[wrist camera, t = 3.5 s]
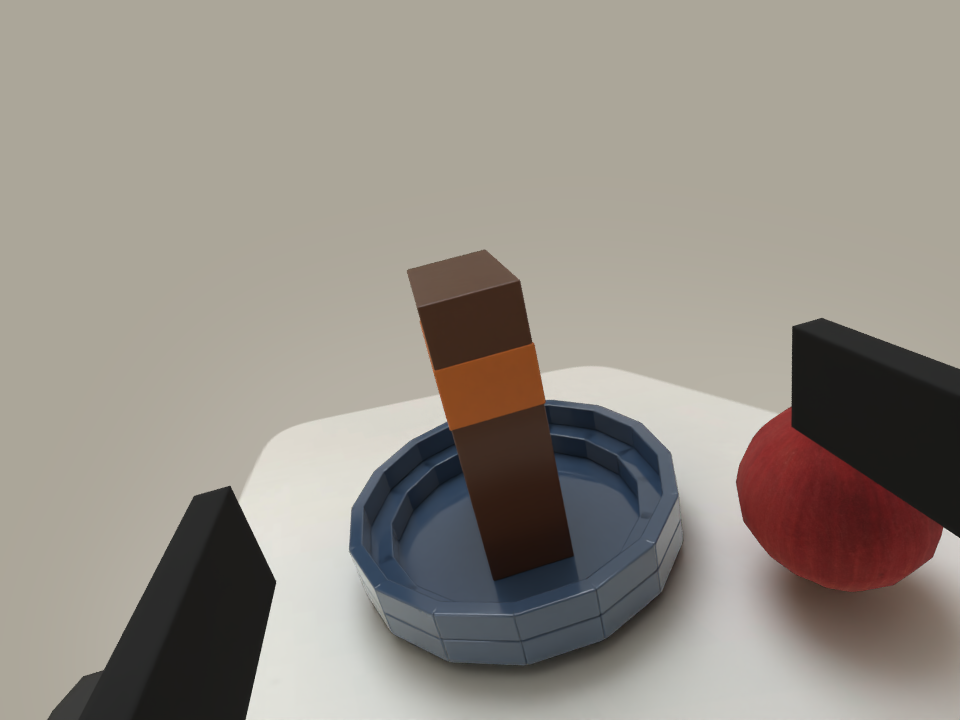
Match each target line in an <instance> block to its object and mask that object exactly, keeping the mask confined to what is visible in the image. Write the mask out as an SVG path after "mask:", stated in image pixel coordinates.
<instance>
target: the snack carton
mask: <svg viewBox="0 0 960 720" xmlns="http://www.w3.org/2000/svg"><path fill="white" fill-rule="evenodd" d="M407 274H408V277H409V281H410V284H411V288H412V292H413V295H414V298H415V302H416V306H417V310H418V313H419V317H420V324H421V328H422V332H423V335H424V339H425V343H426V347H427V350H428V354H429V358H430V361H431V364H432V369H433V372H434V376H435V379H436V383H437V386H438V390H439V394H440V397H441V401H442V404H443V408H444V412H445V415H446V419H447V422H448V426H449V429H450V431H452V435H453V439H454V442H455V446H456V449H457V453H458V456H459V460H460V464H461V467H462V471H463V474H464V478H465V481H466V485H467V489H468V492H469V496H470V499H471V503H472V507H473V510H474V514H475V517H476V521H477V524H478V528H479V532H480V535H481V539H482V542H483V546H484V550H485V553H486V557H487V560H488V564H489V567H490V571H491V575H492V578H493V580H494V581H496V580H499V579H502V578H505V577H509V576H512V575H515V574H518V573H521V572H524V571H528V570H531V569H534V568H537V567H540V566H543V565H547V564H550V563H553V562H556V561H559V560H562V559H566V558H569V557H572V556H574V552H573V547H572V542H571V537H570V532H569V527H568V522H567V517H566V511H565V506H564V501H563V496H562V491H561V486H560V481H559V476H558V471H557V466H556V461H555V455H554V450H553V445H552V440H551V435H550V430H549V425H548V420H547V415H546V410H545V405H544V404H545V403H546V401H545V396H544V391H543V386H542V380H541V375H540V370H539V365H538V360H537V355H536V350H535V345H534V343H533V342H532V338H531V334H530V328H529V323H528V318H527V313H526V308H525V303H524V298H523V293H522V288H521V283H520V280H519V279H518V278H517V277H516V276H514V275H513V274H512V273H511V272H510V271H509V270H508V269H507V268H505V267H504V266H503V265H502V264H501V263H500V262H499V261H497V259H495V258H494V257H493V256H492V255H491V254H490V253H489V252H487V251H486V250H481V251H477V252H473V253H470V254H466V255H462V256H458V257H454V258H450V259H447V260H443V261H439V262H435V263H431V264H427V265H424V266H420V267H416V268H412V269H408V270H407Z"/></svg>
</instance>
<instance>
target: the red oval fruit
mask: <svg viewBox="0 0 960 720" xmlns="http://www.w3.org/2000/svg"><path fill="white" fill-rule="evenodd" d="M791 416H792V407H790V408H788V409H786V410H785V411H784V412H782V413H780V414H779V415H777V416H776V417H775V418H773V419H772V420H770V421H769V422H768V423H766V424H765V425H764V426H763V427H762V428H761V429H760V430H759V431H758V432H757V433H756V435H755V436H754V437H753V438H752V440H751V442H750V444H749V446H748V448H747V450H746V452H745V454H744V456H743V458H742V461H741V463H740V465H739V469H738V474H737V479H736V485H737V491H738V497H739V502H740V507H741V512H742V517H743V521H744V523H745V524H746V526H747V527H748V528H749V530H750V531H751V532H752V534H753V535H754V536H755V538H756V539H757V540H758V542H759V543H760V545H761V546H762V547H763V548H764V549H765V551H766V552H767V553H768V554H769V555H770V557H772V558H773V559H775V560H776V561H777V562H779V563H780V564H782V565H783V566H784V567H786V568H787V569H788V570H790V571H791V572H793V573H794V574H795V575H797V576H800V577H803V578H805V579H808V580H811V581H813V582H815V583H817V584H819V585H821V586H823V587H825V588H830V589H836V590H842V591H848V592H856V591H865V590H870V589H876V588H881V587H886V586H892V585H894V584H896V583H897V582H899V581H900V580H902V579H903V578H905V577H906V576H908V575H909V574H911V573H912V572H914V571H915V570H916V569H918V568H919V567H920V566H922V565H923V564H924V563H926V562H927V561H928V560H930V559H931V558H932V557H933V555H934V553H935V550H936V548H937V545H938V543H939V540H940V538H941V535H942V531H943V526H941V525H940V524H938V523H937V522H935V521H933V520H932V519H930V518H929V517H927V516H926V515H924V514H923V513H921V512H920V511H918V510H917V509H915V508H914V507H912V506H911V505H909V504H908V503H906V502H905V501H903V500H902V499H900V498H899V497H897V496H896V495H894V494H893V493H891V492H889V491H888V490H886V489H885V488H883V487H882V486H880V485H879V484H877V483H876V482H874V481H873V480H871V479H870V478H868V477H867V476H865V475H864V474H862V473H861V472H859V471H858V470H856V469H855V468H853V467H852V466H850V465H849V464H847V463H846V462H844V461H842V460H841V459H839V458H838V457H836V456H835V455H833V454H832V453H830V452H829V451H827V450H826V449H824V448H823V447H821V446H820V445H818V444H817V443H815V442H814V441H812V440H811V439H809V438H808V437H806V436H805V435H803V434H802V433H800V432H799V431H797V430H795V429H794V428H792V427H791Z"/></svg>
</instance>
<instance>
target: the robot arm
mask: <svg viewBox="0 0 960 720" xmlns="http://www.w3.org/2000/svg"><path fill="white" fill-rule="evenodd" d="M791 427H792V428H794V429H795V430H797V431H799V432H800V433H802V434H803V435H805V436H806V437H808V438H809V439H811V440H812V441H814V442H815V443H817V444H818V445H820V446H821V447H823V448H824V449H826V450H827V451H829V452H830V453H832V454H833V455H835V456H836V457H838V458H839V459H841V460H842V461H844V462H846V463H847V464H849V465H850V466H852V467H853V468H855V469H856V470H858V471H859V472H861V473H862V474H864V475H865V476H867V477H868V478H870V479H871V480H873V481H874V482H876V483H877V484H879V485H880V486H882V487H883V488H885V489H886V490H888V491H889V492H891V493H893V494H894V495H896V496H897V497H899V498H900V499H902V500H903V501H905V502H906V503H908V504H909V505H911V506H912V507H914V508H915V509H917V510H918V511H920V512H921V513H923V514H924V515H926V516H927V517H929V518H930V519H932V520H933V521H935V522H937V523H938V524H940V525H941V526H943V527H944V528H946V529H947V530H949V531H950V532H952V533H953V534H955V535H956V536H958V537H959V538H960V369H958V368H955V367H952V366H950V365H947V364H944V363H941V362H939V361H936V360H934V359H931V358H928V357H926V356H923V355H920V354H918V353H915V352H912V351H909V350H907V349H904V348H901V347H899V346H896V345H893V344H890V343H888V342H885V341H883V340H880V339H877V338H875V337H872V336H869V335H867V334H864V333H861V332H858V331H856V330H853V329H850V328H848V327H845V326H842V325H839V324H837V323H834V322H832V321H828V320H826V319H824V318H820V319H817V320H813V321H810V322H806V323H803V324H799V325H796V326H793V327H792V416H791ZM275 585H276V580H275V578H274V576H273V574H272V572H271V570H270V568H269V566H268V564H267V561H266V559H265V557H264V555H263V553H262V551H261V549H260V547H259V545H258V543H257V541H256V538H255V536H254V534H253V532H252V530H251V528H250V526H249V524H248V522H247V520H246V518H245V515H244V513H243V511H242V509H241V507H240V505H239V503H238V501H237V499H236V497H235V495H234V493H233V490H232V488H231V486H228V487H224V488H221V489H217V490H214V491H210V492H207V493H203V494H199V495H196V496H194V497H193V499H192V501H191V503H190V505H189V507H188V509H187V510H186V513H185V514H184V517H183V518H182V520H181V522H180V524H179V526H178V528H177V530H176V532H175V534H174V536H173V538H172V540H171V541H170V543H169V546H168V547H167V549H166V551H165V553H164V555H163V557H162V559H161V561H160V563H159V565H158V567H157V569H156V570H155V572H154V574H153V576H152V578H151V580H150V582H149V584H148V586H147V588H146V590H145V592H144V594H143V596H142V598H141V600H140V601H139V603H138V605H137V607H136V609H135V611H134V613H133V615H132V617H131V619H130V621H129V623H128V625H127V627H126V628H125V630H124V632H123V634H122V636H121V638H120V640H119V642H118V644H117V646H116V648H115V650H114V652H113V654H112V655H111V658H110V660H109V662H108V663H107V665H106V667H105V669H104V670H103V671H100V672H96V673H93V674H90V675H87V676H83V677H82V678H81V680H80V681H79V682H78V683H77V684H76V685H75V686H74V687H73V689H72V690H71V691H70V692H69V693H68V694H67V695H66V696H65V698H64V699H63V700H62V701H61V702H60V703H59V704H58V705H57V707H56V708H55V709H54V710H53V711H52V713H51V715H50V716H49V718H48V720H246V715H247V711H248V706H249V702H250V697H251V693H252V688H253V684H254V679H255V675H256V670H257V666H258V661H259V657H260V653H261V648H262V644H263V639H264V635H265V630H266V626H267V621H268V617H269V612H270V608H271V603H272V599H273V594H274V590H275Z"/></svg>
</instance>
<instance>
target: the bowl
mask: <svg viewBox="0 0 960 720" xmlns="http://www.w3.org/2000/svg"><path fill="white" fill-rule="evenodd" d="M545 401H546V403H545V404H544V405H545V410H546V415H547V420H548V425H549V430H550V435H551V440H552V445H553V450H554V455H555V461H556V466H557V471H558V476H559V481H560V486H561V491H562V496H563V501H564V506H565V511H566V517H567V522H568V527H569V532H570V537H571V542H572V547H573V552H574V556H572V557H569V558H566V559H562V560H559V561H556V562H553V563H550V564H547V565H543V566H540V567H537V568H534V569H531V570H528V571H524V572H521V573H518V574H515V575H512V576H509V577H505V578H502V579H499V580H496V581H494V580H493V578H492V575H491V571H490V567H489V564H488V560H487V557H486V553H485V550H484V546H483V542H482V539H481V535H480V532H479V528H478V524H477V521H476V517H475V514H474V510H473V507H472V503H471V499H470V496H469V492H468V489H467V485H466V481H465V478H464V474H463V471H462V467H461V464H460V460H459V456H458V453H457V449H456V446H455V442H454V439H453V435H452V431H450V429H449V426H448V422H446V423H444V424H442V425H440V426H438V427H436V428H434V429H432V430H430V431H428V432H426V433H424V434H422V435H420V436H418V437H416V438H414V439H412V440H411V441H409V442H408V443H407V444H406V445H405V446H403V447H402V448H401V449H400V450H399V451H397V452H396V453H395V454H394V455H393V456H392V457H390V458H389V459H388V460H387V461H386V462H384V463H383V464H382V465H381V466H380V467H379V468H377V469H376V470H375V471H374V472H373V474H372V475H371V477H370V479H369V480H368V482H367V484H366V485H365V487H364V489H363V490H362V492H361V494H360V495H359V497H358V498H357V500H356V502H355V503H354V505H353V507H352V510H351V525H350V542H349V552H350V555H351V557H352V560H353V562H354V565H355V567H356V569H357V572H358V574H359V577H360V579H361V582H362V584H363V587H364V589H365V592H366V593H367V595H368V597H369V598H370V600H371V601H372V603H373V605H374V606H375V608H376V609H377V611H378V612H379V614H380V616H381V617H382V619H383V620H384V622H385V623H386V625H387V627H388V628H389V630H390V631H391V633H393V634H394V635H396V636H398V637H400V638H402V639H404V640H406V641H408V642H410V643H412V644H414V645H416V646H418V647H420V648H422V649H424V650H426V651H428V652H430V653H432V654H434V655H436V656H438V657H440V658H442V659H444V660H446V661H448V662H449V661H450V662H452V663H476V664H500V665H524V666H525V665H527V664H528V665H530V664H533V663H536V662H540V661H543V660H546V659H549V658H552V657H555V656H558V655H561V654H564V653H567V652H570V651H573V650H576V649H579V648H582V647H585V646H588V645H591V644H594V643H597V642H600V641H603V640H604V638H605V639H607V638H608V637H609V636H610V635H612V634H613V633H614V632H615V631H616V630H618V629H619V628H620V627H621V626H622V625H623V624H625V623H626V622H627V621H628V620H629V619H631V618H632V617H633V616H634V615H635V614H637V613H638V612H639V611H640V610H641V609H643V608H644V607H645V606H646V605H647V604H649V603H650V602H651V601H652V600H653V599H654V598H656V597H657V596H658V595H659V594H660V593H661V592H662V590H663V587H664V585H665V583H666V580H667V578H668V576H669V573H670V571H671V569H672V566H673V564H674V562H675V559H676V557H677V555H678V552H679V550H680V547H681V545H682V543H683V533H682V522H681V512H680V501H679V493H678V487H677V482H676V476H675V471H674V466H673V460H672V455H671V453H670V451H669V450H668V449H667V448H666V447H665V446H664V445H663V444H662V443H661V442H660V441H659V440H658V439H657V438H656V437H655V436H654V435H653V434H652V433H651V432H650V431H649V430H648V429H647V428H646V427H645V426H644V425H643V424H642V423H640V422H639V421H636V420H634V419H631V418H629V417H626V416H624V415H622V414H619V413H617V412H614V411H612V410H609V409H607V408H605V407H602V406H599V405H592V404H583V403H575V402H566V401H558V400H545Z"/></svg>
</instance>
